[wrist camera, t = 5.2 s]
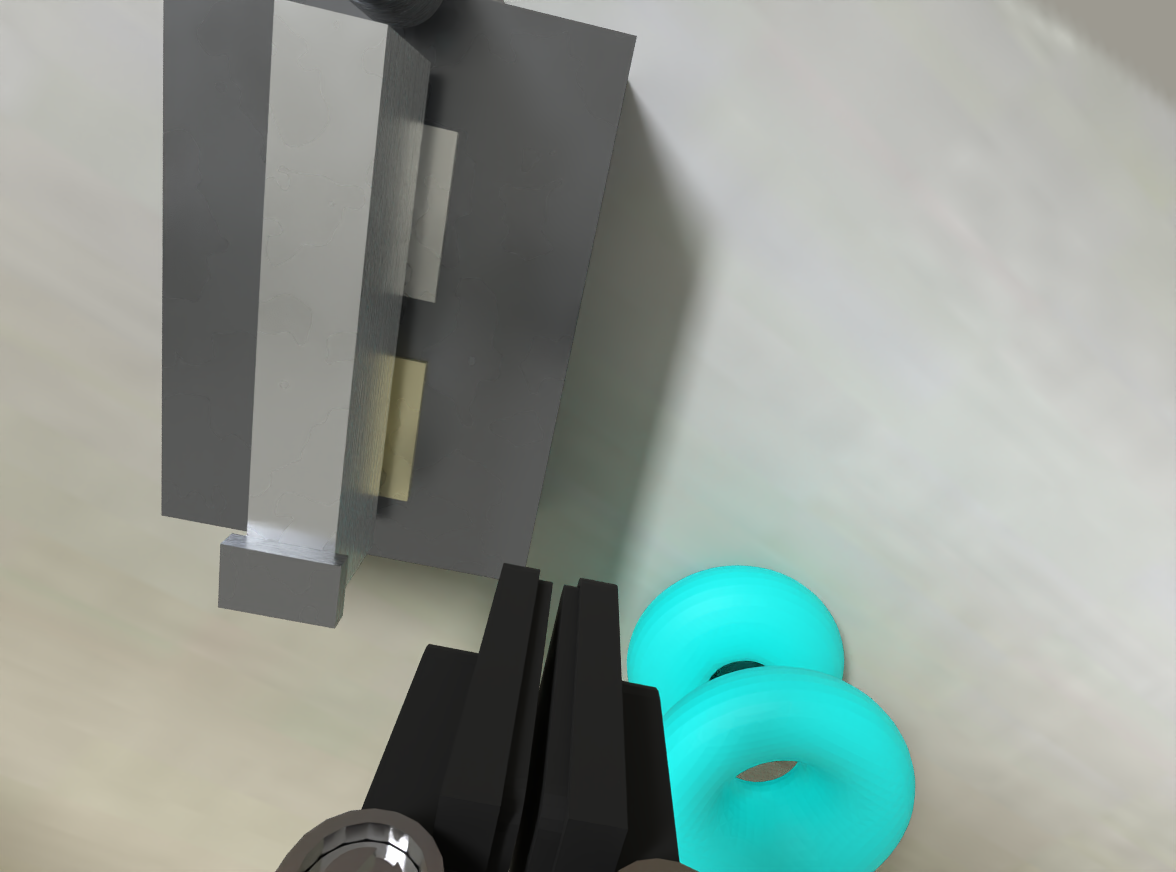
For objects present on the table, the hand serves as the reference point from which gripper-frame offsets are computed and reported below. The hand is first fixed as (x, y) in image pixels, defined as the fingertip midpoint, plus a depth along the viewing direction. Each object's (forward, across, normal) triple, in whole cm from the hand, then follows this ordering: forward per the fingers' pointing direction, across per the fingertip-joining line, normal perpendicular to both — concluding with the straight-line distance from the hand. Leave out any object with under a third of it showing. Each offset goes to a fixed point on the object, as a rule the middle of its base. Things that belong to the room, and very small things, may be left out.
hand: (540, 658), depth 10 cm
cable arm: (+12, +7, -3) cm, 14 cm away
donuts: (+20, -10, +12) cm, 25 cm away
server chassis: (+19, +7, -3) cm, 21 cm away
